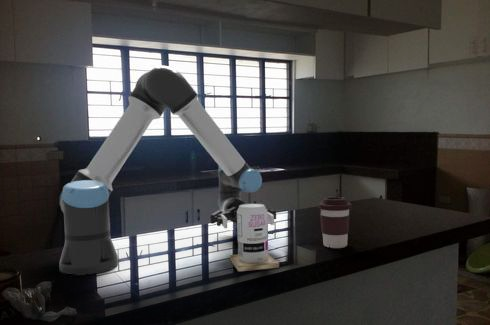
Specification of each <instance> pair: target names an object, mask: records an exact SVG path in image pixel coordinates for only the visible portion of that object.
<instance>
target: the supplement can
mask: <svg viewBox="0 0 490 325" xmlns="http://www.w3.org/2000/svg"><path fill="white" fill-rule="evenodd" d="M266 209H267V208H266V205H265V204H263V203H246V204H242V205H239V208H238V210H237V223H236V226H237V255H238V258H239V259H240V260H241V261H242V262H244V263H261V262H264V261H266V259H267V258H268V254H269V241H268V240H269V235H268V234H269V233H268V232H269V231H268V230H269V229H268V227H269V226H268V222H267V210H266Z"/></svg>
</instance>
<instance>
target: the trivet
mask: <svg viewBox="0 0 490 325" xmlns="http://www.w3.org/2000/svg"><path fill="white" fill-rule="evenodd" d="M229 259H230V261H231V263H232V264H233V266H234V267H235V268H236V270H237V272H246V271H247V272H248V271H256V270H257V271H258V270H268V269H278V268H280V262H279V261H277V260H276V259H275V258H273V257H272V256H271V255H270V253H268V258H267V259H266V261H264V262H261V263H244V262H242V261H241V260H240V259H239V258H238V254H230V256H229Z"/></svg>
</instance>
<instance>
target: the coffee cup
mask: <svg viewBox="0 0 490 325" xmlns="http://www.w3.org/2000/svg"><path fill="white" fill-rule="evenodd" d="M318 209H319V210H320V215H319V217H320V228H321V233H322V242H323V246H324V247H327V248H329V247H330V248H331V249H342V248H346V247H347V246H348V238H349V237H348V234H349V229H350V227H349V226H350V210H351V209H352V203H351V202H349V201H347V199H346V198H345V197H341V196H327V197H324V198H323V199H322V200H321V202H319V203H318Z"/></svg>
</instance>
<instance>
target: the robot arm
mask: <svg viewBox="0 0 490 325" xmlns="http://www.w3.org/2000/svg"><path fill="white" fill-rule="evenodd" d="M198 97H199V94H198V93H197V92H196V90H195V89H194V88H193V87H192V86H191V84H190V83H189V82H188V81H187V79H186V78H185V77H184V76H183V74H182V73H180V72H179V71H178V70H176V69H175V68H174V67H171V66H168V65H159V66H155V67H153V68H152V69H151V70H149V71H147V72H145V73H143V74H142V75H141V76H140V77H139V78H138V80H137V81H136V82H135V86H134V88H133V90H132V91H131V93H130V95H129V96H128V98H127V99H128V103H129V105H128V107H126V109H125V111H124V113H122V115H121V117H120V118H119V120H117V122H116V124H115V126H114V127H113V128H112V130H111V132H110V133H109V134H108V136H107V137H106V139H105V141H104V142H103V143H102V145H101V146H100V148H99V149H98V150H97V151H96V154H95V155H94V156H93V158H92V160H91V161H90V162H89V164H88V165H87V167H85V168H84V169H83V168H82V169H79V170H78V171H77V172H76V174H75V175H74V177H72V180H71V181H70V182H68V183H66V184H65V185H64V186H63V187H62V191H61V193H60V195H59V206H60V209H61V212H62V213H63V223H64V224H63V225H64V246H63V249H62V252H61V256H60V260H59V263H58V264H59V265H58V267H59V268H58V269H59V272H60V271H61V272H63V273H66V274H76V275H75V276H87V275H86V274H89V275H95V274H99V273H104V272H107V271H110V270H112V269H114V268H116V267H117V266H118V265H119V256H118V253H117V250H116V248H115V245H114V243H113V240H112V238H111V222H110V221H111V220H110V201H109V200H110V199H109V198H110V195H111V193H112V192H113V190H114V189H113V186H112V183H113V182H114V180H115V178H116V176H117V175H118V174H119V172H120V170H121V169H122V167H123V165H125V163H126V161H127V159H128V158H129V157H130V155H131V154H132V153H133V151H134V149H135V147H136V146H137V145H138V143H139V142H140V140H141V138H142V137H143V135H144V134H145V133H146V131H147V129H148V128H149V126H150V125H151V123H152V122H153V120H158V119H160V118H161V117H162V115H163V113H165V111H166V109H168V110H169V111H170V113H171V114H172V115H175V116H178V117H179V118H180V119H181V121H182V122H183V123H184V125H185V126H186V127H187V129H189V130H190V132H191V133H192V135H193V136H194V137H195V138H196V139H197V140H198V141H199V143H200V144H201V146H202V147H203V148H204V149H205V151H206V152H207V153H208V154H209V155H210V156H211V158H212V160H214V162H215V163H216V164H217V165H218V171H217V174H218V189H219V190H218V192H219V193H218V197H219V198H218V201H217V205H218V209H217V211H214V212H212V213H211V214H210V216H209V217H210V224H215V223H216V226H217V227H221V226H222V227H223V228H224V229H228V221H230V222H232V223H235V224H237V210H238V208H239V205H242V204H247V203H246V202H245V201H243V200H242V199H241V192H243V193H254V192H257V191H258V190H259V189H260V188H261V186H262V183H263V178H262V175H261V173H260V172H259V171H258V170H256V169H254V168H251V167H250V166H249V165H248V163H247V162H246V160H244V158H243V157H242V155H241V154H240V153H239V152H238V150H237V149H236V148H235V147H234V145H233V144H232V143H231V141H230V140H229V139H228V138H227V136H226V135H225V134H224V131H222V129H221V128H220V127H219V126H218V124H217V123H216V122H215V121H214V119H213V117H211V115H210V114H209V113H208V111H207V110H206V109H205V107H203V105H202V104H201V103H200V101H199V100H198ZM266 210H267V224H269V225H271V226H274V225H275V220H277V211H276V210H273V209H271V208H269V209H267V208H266ZM61 272H60V273H61ZM63 273H62V274H63ZM94 273H95V274H94ZM66 274H65V275H66Z"/></svg>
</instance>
